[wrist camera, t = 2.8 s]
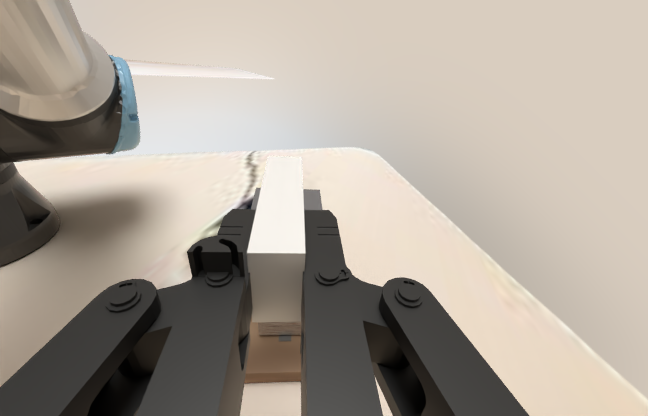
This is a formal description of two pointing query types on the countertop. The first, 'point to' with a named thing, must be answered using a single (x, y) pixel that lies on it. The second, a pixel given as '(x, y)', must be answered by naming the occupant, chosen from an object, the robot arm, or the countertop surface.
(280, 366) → the rail board
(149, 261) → the countertop surface
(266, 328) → the silver square canister
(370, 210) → the countertop surface
